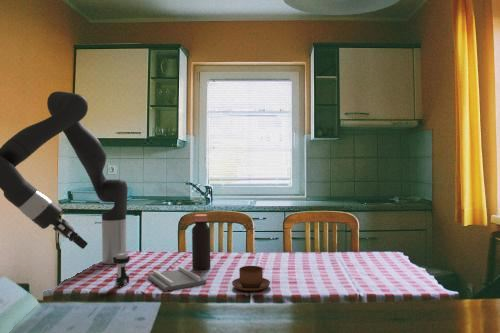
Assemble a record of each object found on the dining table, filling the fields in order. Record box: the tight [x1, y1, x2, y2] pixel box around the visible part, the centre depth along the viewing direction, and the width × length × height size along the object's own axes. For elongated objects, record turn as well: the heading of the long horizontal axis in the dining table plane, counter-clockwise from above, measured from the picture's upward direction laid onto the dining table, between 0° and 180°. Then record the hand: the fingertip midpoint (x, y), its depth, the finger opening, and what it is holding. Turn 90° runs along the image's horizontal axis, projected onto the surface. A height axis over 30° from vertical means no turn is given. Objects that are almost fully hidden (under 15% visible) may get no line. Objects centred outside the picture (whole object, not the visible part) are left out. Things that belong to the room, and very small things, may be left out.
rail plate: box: [147, 265, 207, 292], centre depth 132 cm, size 17×14×2 cm
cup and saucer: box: [231, 265, 271, 292], centre depth 124 cm, size 12×12×6 cm
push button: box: [113, 252, 131, 288], centre depth 127 cm, size 7×5×10 cm
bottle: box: [191, 213, 211, 271], centre depth 148 cm, size 7×7×20 cm
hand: (82, 243), depth 121 cm, fingers open, 8 cm apart
